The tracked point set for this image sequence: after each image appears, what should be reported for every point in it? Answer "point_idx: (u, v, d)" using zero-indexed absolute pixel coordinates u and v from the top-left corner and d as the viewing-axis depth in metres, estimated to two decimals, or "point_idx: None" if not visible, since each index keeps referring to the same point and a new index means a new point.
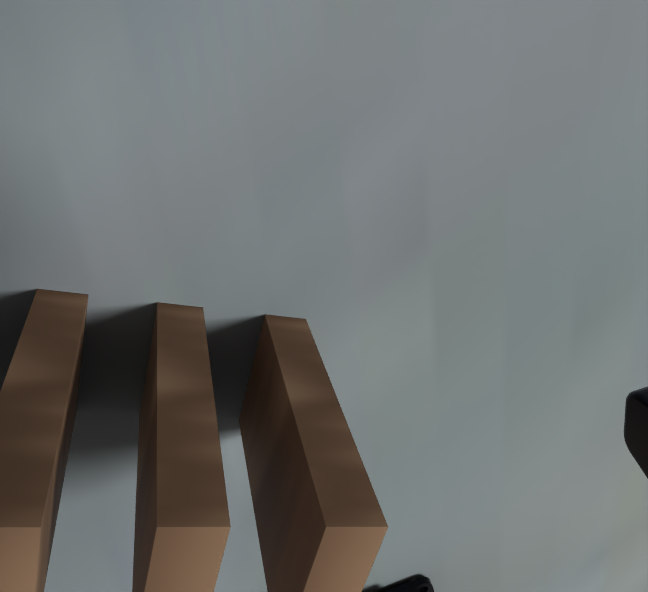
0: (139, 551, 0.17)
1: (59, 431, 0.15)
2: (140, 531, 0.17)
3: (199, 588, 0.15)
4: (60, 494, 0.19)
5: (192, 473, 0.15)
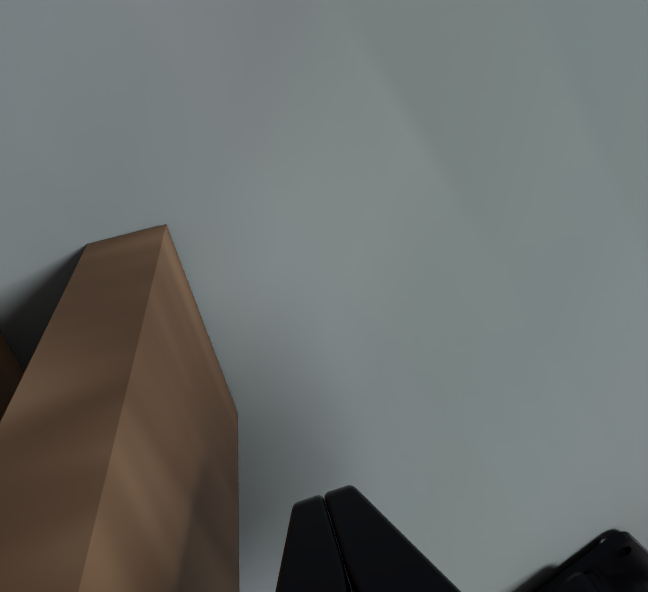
0: None
1: None
2: None
3: None
4: None
5: None
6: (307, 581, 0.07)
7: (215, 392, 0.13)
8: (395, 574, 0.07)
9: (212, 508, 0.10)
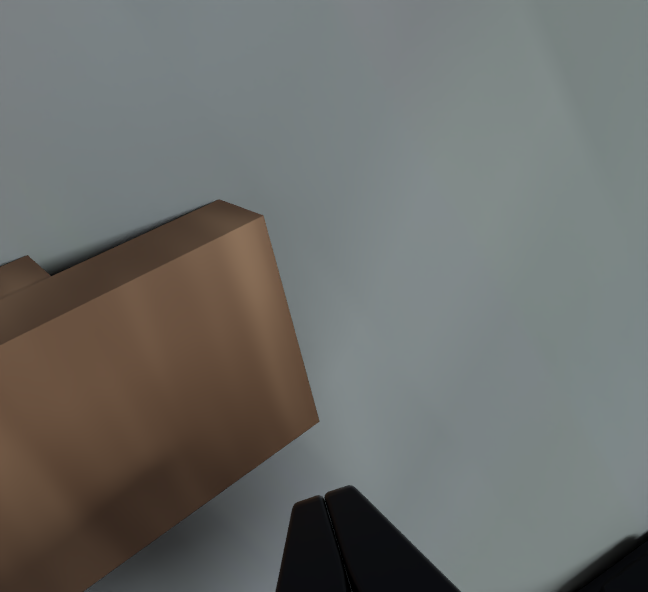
0: None
1: None
2: None
3: None
4: None
5: None
6: (307, 581, 0.07)
7: (255, 393, 0.12)
8: (395, 574, 0.07)
9: (119, 488, 0.11)
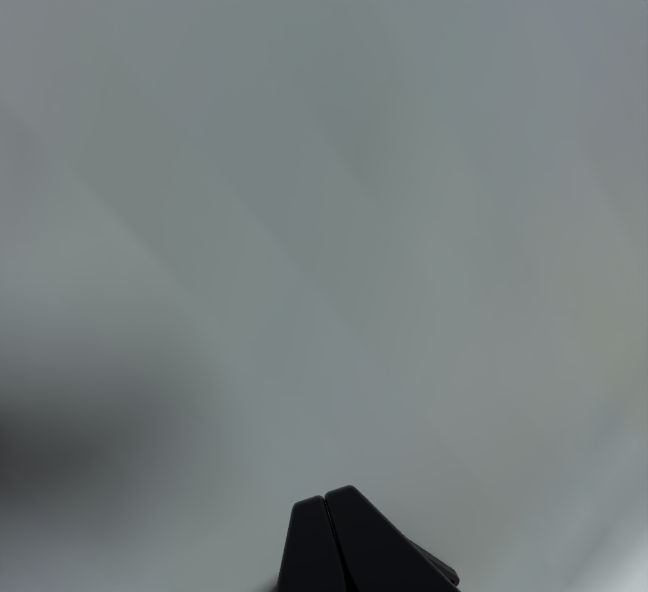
0: None
1: None
2: None
3: None
4: None
5: None
6: (307, 581, 0.07)
7: None
8: (395, 574, 0.07)
9: None
